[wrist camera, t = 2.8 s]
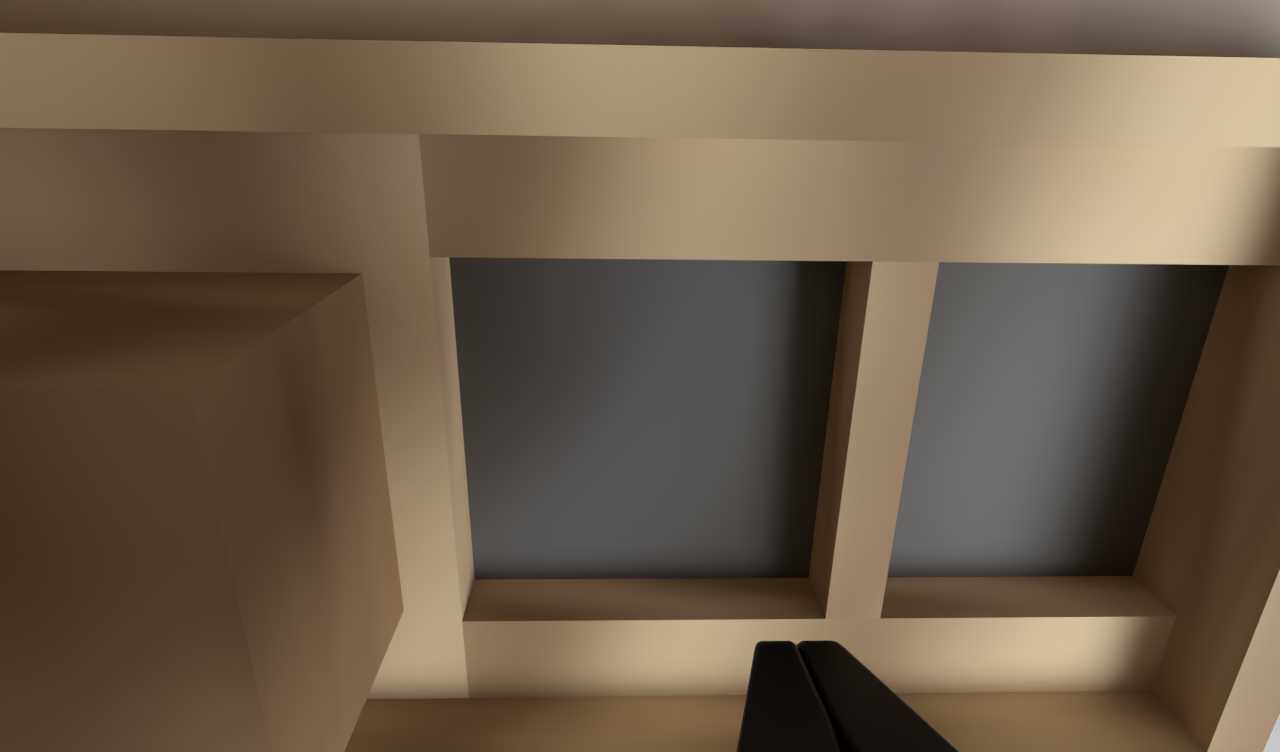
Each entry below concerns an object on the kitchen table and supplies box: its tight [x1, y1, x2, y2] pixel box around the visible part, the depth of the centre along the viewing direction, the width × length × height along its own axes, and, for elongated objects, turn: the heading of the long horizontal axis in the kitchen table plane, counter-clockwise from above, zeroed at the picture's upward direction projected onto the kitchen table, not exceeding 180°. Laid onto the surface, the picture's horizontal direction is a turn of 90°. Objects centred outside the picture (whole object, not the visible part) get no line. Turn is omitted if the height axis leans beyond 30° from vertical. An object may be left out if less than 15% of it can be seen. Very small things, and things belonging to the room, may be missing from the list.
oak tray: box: [0, 33, 1280, 752], centre depth 12 cm, size 30×12×3 cm, turn 89°
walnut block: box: [0, 270, 404, 752], centre depth 9 cm, size 6×6×4 cm
